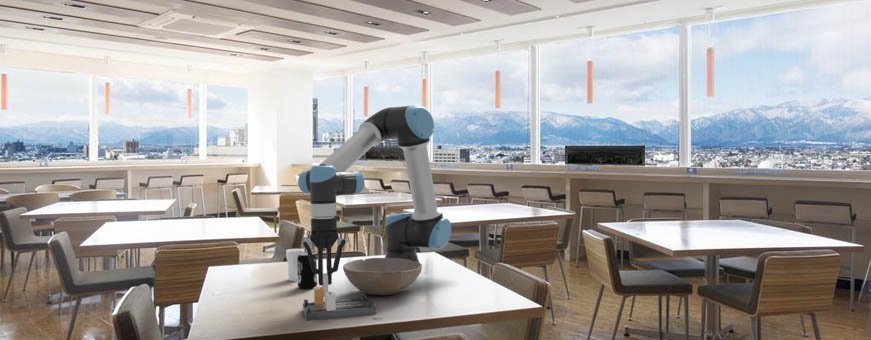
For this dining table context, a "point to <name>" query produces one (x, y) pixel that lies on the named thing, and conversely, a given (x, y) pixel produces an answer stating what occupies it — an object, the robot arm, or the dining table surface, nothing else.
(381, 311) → the dining table surface
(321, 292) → the orange fader
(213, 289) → the dining table surface
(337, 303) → the panel
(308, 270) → the beverage can
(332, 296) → the white fader
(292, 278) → the cup
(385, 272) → the bowl
